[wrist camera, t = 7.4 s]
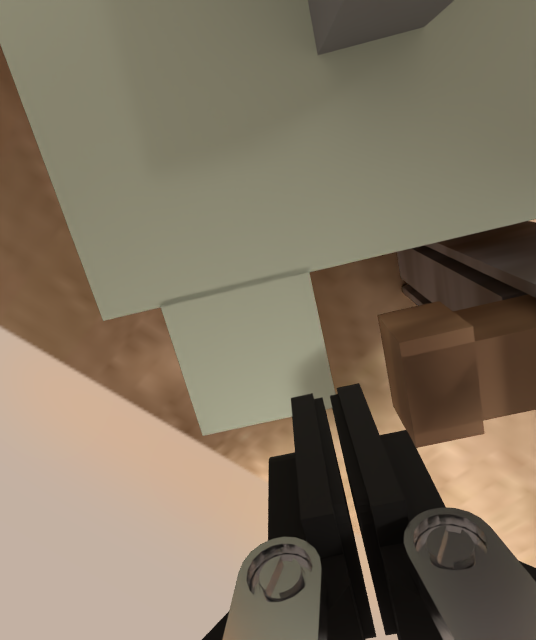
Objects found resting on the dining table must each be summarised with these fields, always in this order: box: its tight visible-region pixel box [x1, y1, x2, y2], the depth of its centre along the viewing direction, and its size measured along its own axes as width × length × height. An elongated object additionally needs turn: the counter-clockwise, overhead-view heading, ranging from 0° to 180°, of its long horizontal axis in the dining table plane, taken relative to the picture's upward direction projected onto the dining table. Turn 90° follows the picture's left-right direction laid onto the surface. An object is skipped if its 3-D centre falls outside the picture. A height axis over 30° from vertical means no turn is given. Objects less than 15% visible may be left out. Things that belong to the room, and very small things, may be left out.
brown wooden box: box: [397, 221, 536, 311], centre depth 16 cm, size 20×26×17 cm
